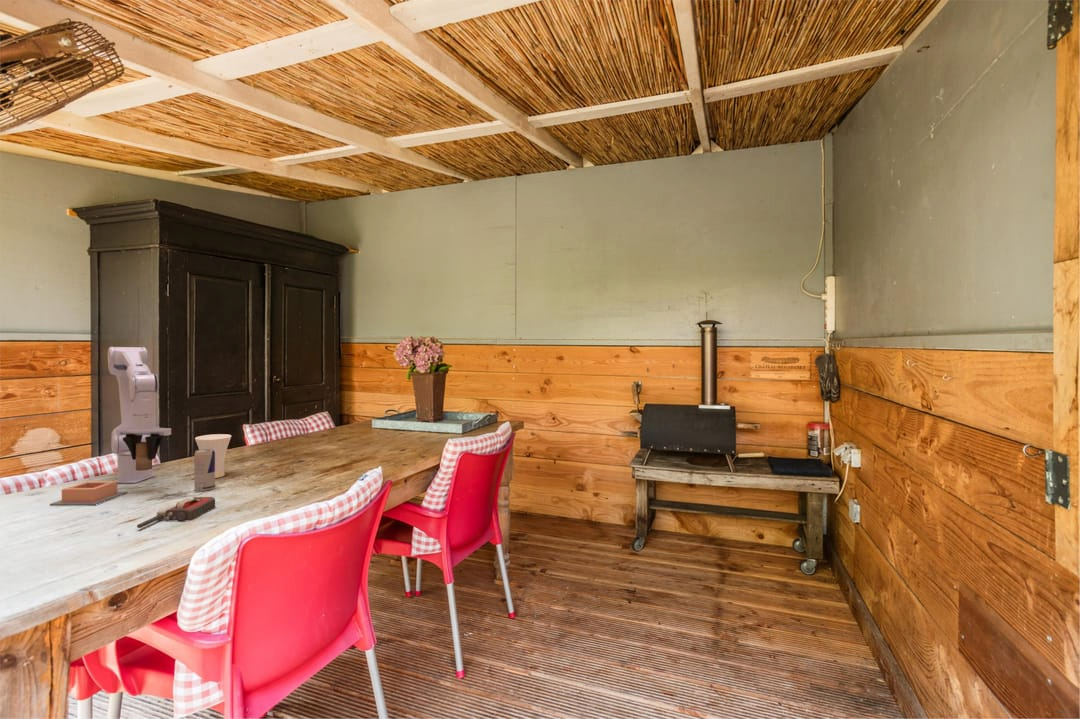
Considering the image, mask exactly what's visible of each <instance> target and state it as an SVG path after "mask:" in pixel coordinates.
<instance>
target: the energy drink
mask: <svg viewBox="0 0 1080 719" xmlns="http://www.w3.org/2000/svg"><path fill="white" fill-rule="evenodd" d="M194 452H195V453H194V454H193V456H194V457H193V458H194V466H193V467H194V469H193V470H194V478H193V479H194V481H193V482H194V488H193V489H194V491H195V492H208V491H207V490H209V491H212V490H214V489H215V488H216V478H215V452H214V450H213V449H203V450H199V449H198V450H194ZM211 489H212V490H211Z"/></svg>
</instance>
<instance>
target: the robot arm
mask: <svg viewBox="0 0 1080 719" xmlns="http://www.w3.org/2000/svg"><path fill="white" fill-rule="evenodd" d="M147 363H148V350H147V348H146V347H145V346H142V347H141V346H140V347H138V346H137V347H136V346H134V347H131V346H127V347H126V346H109V348H108V349H107V366H108V371H109V374H111V375H112V376H116V381H117V383H118V384H117V385H118V393H119V394H118V396H119V405H120V406H119V408H120V409H119V410H120V418H121V424H119V425H117V426H116V427H115V428H113V430H112V432H111V439H110V446H111V452H112V453H113V454H114V455H115V454H116V456H117V479H116V478H115V479H114V480H113V481H117V484H136V483H140V482H142V481H145V480H147V479H150V478H153V477H155V476H156V474H154V473H153V468H152V469H149V470H142V471H137V470H136V443H138V442H147V446H148V459H149V460H152V461H153V460H154V459H156V457H157V453H158V450H159V448H160V445H161V443H162V441H163V440H164V438H165V437H166V436H170V435H172V428H171V427H170V428H168V427H167V428H166V427H156V424H157V423H156V422H157V421H156V420H157V419H156V417H157V416H156V415H157V414H156V411H157V410H156V405H157V404H156V399H157V398H156V393H157V392H158V390H159V378H158V376H157V374H156V373H151V370H150V368H149V366H148V365H147Z"/></svg>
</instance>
